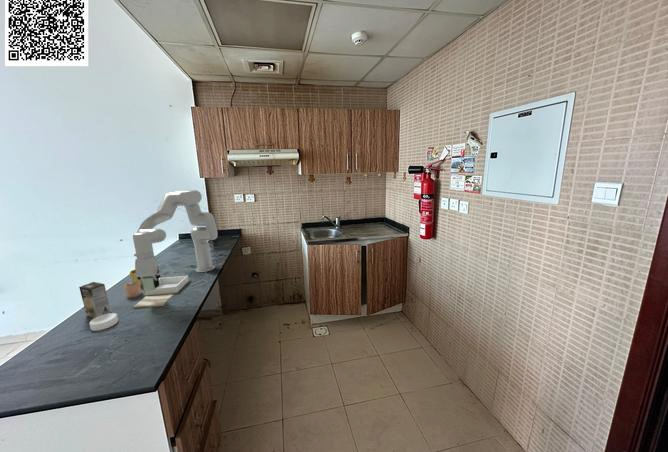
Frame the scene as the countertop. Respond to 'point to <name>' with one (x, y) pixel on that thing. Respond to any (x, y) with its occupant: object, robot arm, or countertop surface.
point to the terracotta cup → (133, 289)
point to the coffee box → (95, 299)
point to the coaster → (103, 321)
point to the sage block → (148, 283)
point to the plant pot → (134, 277)
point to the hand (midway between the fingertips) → (151, 286)
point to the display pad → (153, 301)
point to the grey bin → (169, 285)
